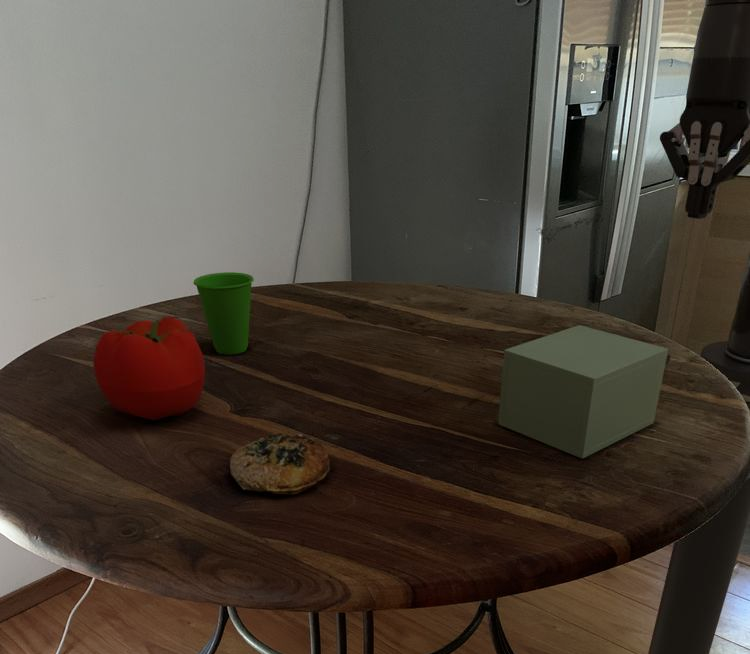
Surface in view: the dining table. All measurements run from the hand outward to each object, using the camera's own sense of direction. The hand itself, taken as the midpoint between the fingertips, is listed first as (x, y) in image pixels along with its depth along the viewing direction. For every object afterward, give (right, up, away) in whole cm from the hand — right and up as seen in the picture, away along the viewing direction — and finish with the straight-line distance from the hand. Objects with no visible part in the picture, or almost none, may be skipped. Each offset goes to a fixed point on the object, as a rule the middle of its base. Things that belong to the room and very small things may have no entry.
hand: (696, 217), depth 91 cm
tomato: (-68, -24, +5) cm, 72 cm away
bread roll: (-50, -32, -10) cm, 61 cm away
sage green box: (-15, -26, 0) cm, 30 cm away
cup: (-63, -11, +26) cm, 69 cm away
